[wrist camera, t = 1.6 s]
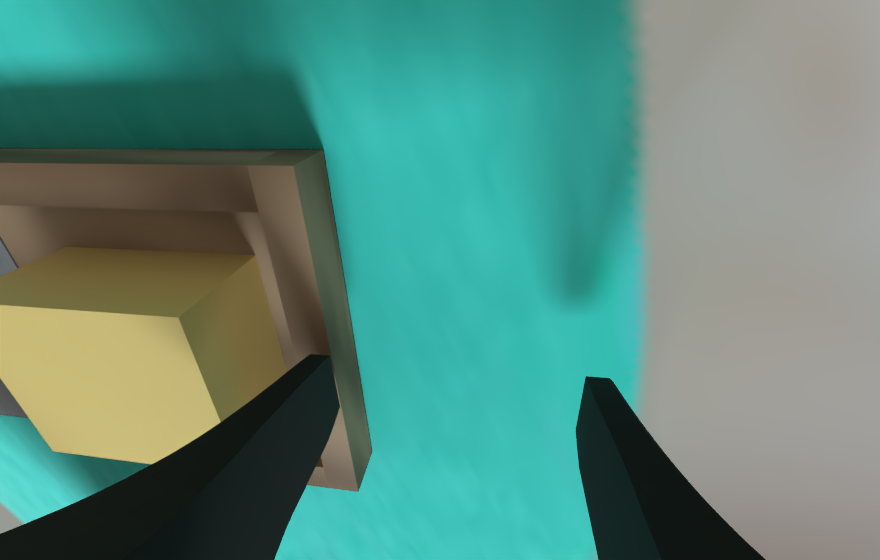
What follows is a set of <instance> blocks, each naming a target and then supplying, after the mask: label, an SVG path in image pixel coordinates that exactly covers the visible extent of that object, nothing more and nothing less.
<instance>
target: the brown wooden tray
mask: <svg viewBox="0 0 880 560" xmlns="http://www.w3.org/2000/svg"><path fill="white" fill-rule="evenodd" d="M0 236H1V238H2V240H3V241H4V243H5V245H6V247H7V248H8V250H9V252H10V253H11V255H12V257H13V258H14V260H15V262H16V263H17V265H18V267H19V268H20V267H22V266H24V265H26V264H29V263H31V262H33V261H35V260H38V259H40V258H42V257H44V256H47V255H49V254H51V253H53V252H55V251H58V250H60V249H62V248H64V247H83V248H105V249H128V250H150V251H172V252H194V253H217V254H239V255H256V259H257V263H258V266H259V270H260V274H261V277H262V281H263V285H264V288H265V292H266V296H267V299H268V303H269V307H270V311H271V314H272V318H273V322H274V325H275V329H276V333H277V336H278V340H279V344H280V347H281V351H282V355H283V358H284V362H285V366H286V369H287V372H288V371H289V370H290V369H291V368H293V367H294V366H295V365H296V364H298V363H299V362H300V361H302V360H303V359H304V358H306V357H307V356H308V355H310V354H317V355H329V356H330V359H331V364H332V369H333V374H334V379H335V384H336V389H337V394H338V399H339V404H340V408H339V411H338V414H337V417H336V421H335V424H334V426H333V429H332V432H331V435H330V438H329V440H328V442H327V444H326V447H325V449H324V451H323V453H322V455H321V457H320V459H319V461H318V463H317V465H316V467H315V469H314V471H313V473H312V475H311V477H310V479H309V481H308V483H307V485H311V486H319V487H326V488H334V489H342V490H349V491H357V492H358V491H359V488H360V485H361V482H362V480H363V477H364V474H365V471H366V468H367V465H368V462H369V460H370V457H371V454H372V448H371V442H370V436H369V430H368V424H367V417H366V411H365V405H364V399H363V393H362V386H361V380H360V374H359V368H358V362H357V355H356V349H355V343H354V337H353V331H352V324H351V318H350V312H349V306H348V299H347V293H346V287H345V281H344V275H343V268H342V262H341V256H340V250H339V244H338V237H337V231H336V225H335V219H334V213H333V206H332V200H331V194H330V188H329V182H328V175H327V169H326V163H325V157H324V151H323V150H297V149H46V148H0ZM84 456H85V455H84ZM90 457H93V456H90ZM97 458H100V457H97ZM105 459H108V458H105ZM113 460H115V459H113ZM120 461H123V460H120ZM128 462H131V461H128ZM135 463H138V462H135ZM143 464H146V463H143ZM151 465H152V464H151Z"/></svg>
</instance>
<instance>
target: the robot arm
mask: <svg viewBox="0 0 880 560" xmlns="http://www.w3.org/2000/svg"><path fill="white" fill-rule="evenodd" d="M339 408H340V404H339V399H338V394H337V389H336V384H335V379H334V374H333V369H332V364H331V359H330V356H329V355H317V354H310V355H308V356H307V357H306V358H304V359H303V360H302V361H300V362H299V363H298V364H296V365H295V366H294V367H293V368H291V369H290V370H289V371H288V372H286V373H285V374H284V375H283V376H281V377H280V378H279V379H278V380H276V381H275V382H274V383H273V384H271V385H270V386H269V387H268V388H266V389H265V390H264V391H262V392H261V393H260V394H259V395H257V396H256V397H255V398H253V399H252V400H251V401H249V402H248V403H247V404H245V405H244V406H242V407H241V408H240V409H238V410H237V411H236V412H234V413H233V414H231V415H230V416H229V417H227V418H226V419H224V420H223V421H222V422H220V423H219V424H217V425H216V426H214V427H213V428H211V429H210V430H209V431H207V432H205V433H204V434H202V435H201V436H199V437H198V438H196V439H195V440H193V441H191V442H190V443H188V444H186V445H185V446H183V447H182V448H180V449H178V450H177V451H175V452H173V453H171V454H170V455H168V456H166V457H164V458H163V459H161V460H159V461H157V462H155V463H153V464H152V465H150V466H148V467H146V468H144V469H142V470H141V471H139V472H137V473H135V474H133V475H131V476H130V477H128V478H126V479H124V480H122V481H120V482H118V483H116V484H114V485H112V486H110V487H108V488H106V489H104V490H102V491H99V492H97V493H95V494H93V495H91V496H89V497H87V498H84V499H82V500H80V501H78V502H76V503H73V504H71V505H69V506H67V507H64V508H62V509H60V510H58V511H55V512H53V513H50V514H48V515H46V516H43V517H41V518H38V519H36V520H33V521H31V522H29V523H26V524H24V525H21V526H19V527H17V528H14V529H12V530H9V531H7V532H4V533H1V534H0V560H274V559H275V556H276V553H277V551H278V548H279V546H280V543H281V540H282V538H283V535H284V532H285V530H286V528H287V525H288V523H289V521H290V519H291V516H292V514H293V512H294V510H295V508H296V506H297V504H298V502H299V500H300V498H301V496H302V494H303V492H304V490H305V488H306V485H307V483H308V481H309V479H310V477H311V475H312V473H313V471H314V469H315V467H316V465H317V463H318V461H319V459H320V457H321V455H322V453H323V451H324V449H325V447H326V444H327V442H328V440H329V438H330V435H331V432H332V429H333V426H334V424H335V421H336V417H337V414H338V411H339ZM576 439H577V450H578V460H579V469H580V474H581V479H582V483H583V488H584V493H585V498H586V503H587V507H588V512H589V517H590V521H591V526H592V531H593V536H594V540H595V545H596V550H597V554H598V560H765V559H764V558H763V557H762V556H761V555H760V554H759V553H758V552H757V551H756V550H754V549H753V548H752V547H751V546H750V545H749V544H748V543H747V542H746V541H745V540H744V539H743V538H742V537H741V536H739V535H738V533H737V532H736V531H734V529H733V528H732V527H731V526H729V524H727V523H726V521H725V520H724V519H723V518H722V517H721V516H720V515H719V514H718V513H717V512H716V511H715V510H714V509H713V508H712V507H711V506H710V505H709V504H708V503H707V502H706V501H705V500H704V498H703V497H702V496H701V495H700V494H699V493H698V492H697V491H696V490H695V488H694V487H693V486H692V485H691V484H690V483H689V482H688V480H687V479H686V478H685V477H684V476H683V475H682V473H681V472H680V471H679V470H678V469H677V468H676V467H675V465H674V464H673V463H672V462H671V460H670V459H669V458H668V457H667V455H666V454H665V453H664V452H663V450H662V449H661V448H660V447H659V445H658V444H657V443H656V441H655V440H654V439H653V437H652V436H651V435H650V434H649V432H648V431H647V430H646V428H645V427H644V426H643V424H642V423H641V422H640V420H639V419H638V417H637V416H636V415H635V413H634V412H633V410H632V409H631V408H630V406H629V405H628V403H627V402H626V400H625V399H624V397H623V396H622V394H621V393H620V391H619V390H618V388H617V387H616V385H615V384H614V382H613V381H612V380H611V379H610V378H599V377H587V376H586V378H585V384H584V389H583V394H582V400H581V405H580V410H579V416H578V421H577V426H576Z"/></svg>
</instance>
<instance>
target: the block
mask: <svg viewBox="0 0 880 560" xmlns="http://www.w3.org/2000/svg"><path fill="white" fill-rule="evenodd" d="M286 372H287V369H286V366H285V362H284V358H283V355H282V351H281V347H280V344H279V340H278V336H277V333H276V329H275V325H274V322H273V318H272V314H271V311H270V307H269V303H268V299H267V296H266V292H265V288H264V285H263V281H262V277H261V274H260V270H259V266H258V263H257V259H256V255H239V254H217V253H194V252H172V251H150V250H128V249H105V248H83V247H64V248H62V249H60V250H58V251H55V252H53V253H51V254H49V255H47V256H44V257H42V258H40V259H38V260H35V261H33V262H31V263H29V264H26V265H24V266H22V267H20V268H18V269H15V270H13V271H11V272H9V273H6V274H4V275H2V276H0V378H1V380H2V381H3V383H4V384H5V385H6V387H7V388H8V390H9V391H10V392H11V394H12V395H13V397H14V398H15V399H16V401H17V402H18V403H19V405H20V406H21V408H22V409H23V410H24V412H25V413H26V415H27V416H28V417H29V419H30V420H31V422H32V423H33V424H34V426H35V427H36V429H37V430H38V431H39V433H40V434H41V435H42V437H43V438H44V440H45V441H46V442H47V444H48V445H49V447H50V448H51V449H52V451H54V452H62V453H70V454H77V455H85V456H93V457H100V458H108V459H115V460H123V461H131V462H138V463H146V464H153V463H155V462H157V461H159V460H161V459H163V458H164V457H166V456H168V455H170V454H171V453H173V452H175V451H177V450H178V449H180V448H182V447H183V446H185V445H186V444H188V443H190V442H191V441H193V440H195V439H196V438H198V437H199V436H201V435H202V434H204V433H205V432H207V431H209V430H210V429H211V428H213V427H214V426H216V425H217V424H219V423H220V422H222V421H223V420H224V419H226V418H227V417H229V416H230V415H231V414H233V413H234V412H236V411H237V410H238V409H240V408H241V407H242V406H244V405H245V404H247V403H248V402H249V401H251V400H252V399H253V398H255V397H256V396H257V395H259V394H260V393H261V392H262V391H264V390H265V389H266V388H268V387H269V386H270V385H271V384H273V383H274V382H275V381H276V380H278V379H279V378H280V377H281V376H283V375H284V374H285V373H286Z"/></svg>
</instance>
